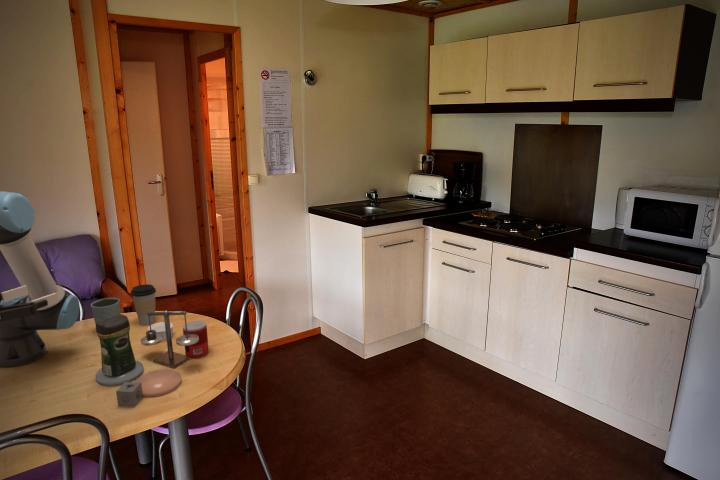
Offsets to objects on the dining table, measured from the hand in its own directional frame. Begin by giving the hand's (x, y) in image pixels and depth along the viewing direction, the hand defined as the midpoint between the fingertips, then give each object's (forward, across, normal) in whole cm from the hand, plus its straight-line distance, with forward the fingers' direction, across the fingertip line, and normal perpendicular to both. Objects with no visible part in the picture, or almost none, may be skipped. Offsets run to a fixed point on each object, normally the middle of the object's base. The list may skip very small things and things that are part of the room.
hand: (41, 293), depth 138 cm
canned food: (+39, +16, -34) cm, 54 cm away
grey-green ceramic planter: (+38, -29, -34) cm, 59 cm away
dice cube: (+8, +20, -34) cm, 40 cm away
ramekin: (+43, -6, -34) cm, 56 cm away
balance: (+31, +12, -34) cm, 48 cm away
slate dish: (+17, +4, -34) cm, 38 cm away
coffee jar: (+17, +4, -32) cm, 37 cm away
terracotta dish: (+18, +20, -34) cm, 43 cm away
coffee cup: (+50, -22, -34) cm, 65 cm away
